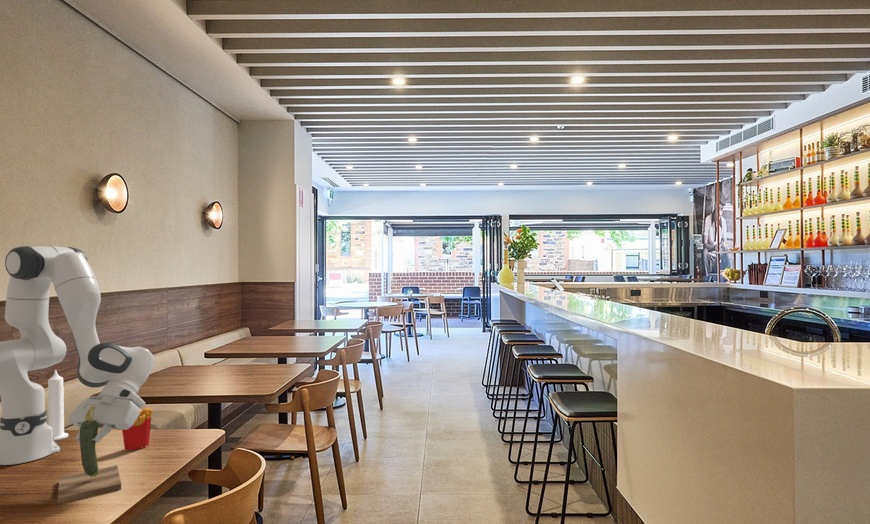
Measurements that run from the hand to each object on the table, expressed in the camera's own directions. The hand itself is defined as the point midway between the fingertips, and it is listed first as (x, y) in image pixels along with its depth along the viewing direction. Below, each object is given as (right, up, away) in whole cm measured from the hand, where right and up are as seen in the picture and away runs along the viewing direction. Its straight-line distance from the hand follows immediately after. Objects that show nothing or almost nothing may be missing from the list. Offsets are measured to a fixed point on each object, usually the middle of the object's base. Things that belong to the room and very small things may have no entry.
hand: (86, 440), depth 141 cm
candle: (-41, -15, +43) cm, 62 cm away
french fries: (-4, -14, +31) cm, 34 cm away
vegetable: (0, -11, 0) cm, 11 cm away
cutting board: (+1, -13, 0) cm, 13 cm away
